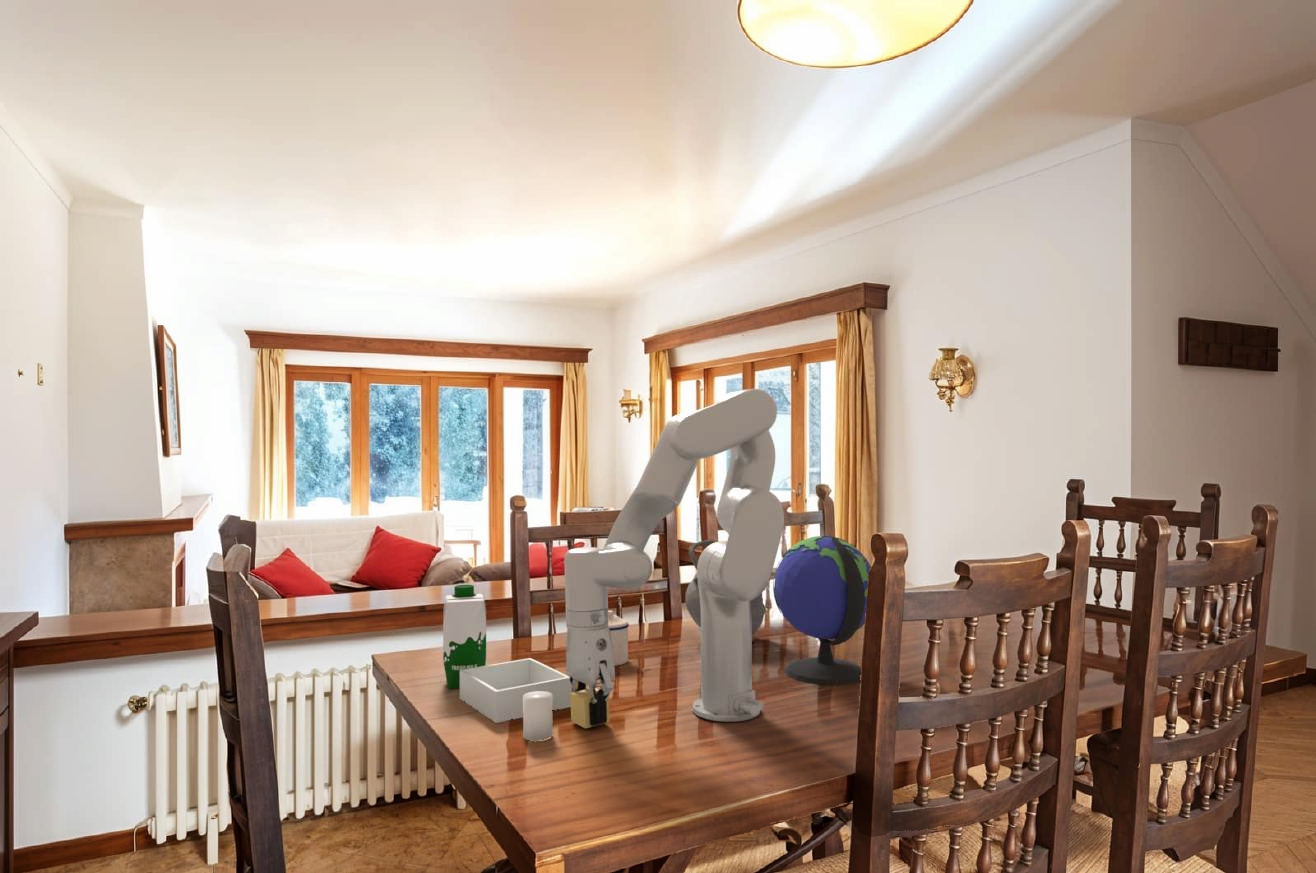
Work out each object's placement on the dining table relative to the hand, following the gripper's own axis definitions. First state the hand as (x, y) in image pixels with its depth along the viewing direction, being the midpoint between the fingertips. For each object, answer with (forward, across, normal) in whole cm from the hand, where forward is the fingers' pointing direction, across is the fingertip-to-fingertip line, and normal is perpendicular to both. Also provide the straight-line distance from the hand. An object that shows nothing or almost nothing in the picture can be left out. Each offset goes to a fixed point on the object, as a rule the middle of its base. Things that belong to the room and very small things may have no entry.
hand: (590, 718), depth 143 cm
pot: (+3, +33, -59) cm, 68 cm away
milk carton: (+1, +37, +9) cm, 38 cm away
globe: (+3, -2, -58) cm, 58 cm away
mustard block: (+1, 0, 0) cm, 1 cm away
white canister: (+1, 0, +10) cm, 10 cm away
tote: (+1, +19, +6) cm, 20 cm away
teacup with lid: (+2, +35, -24) cm, 43 cm away
